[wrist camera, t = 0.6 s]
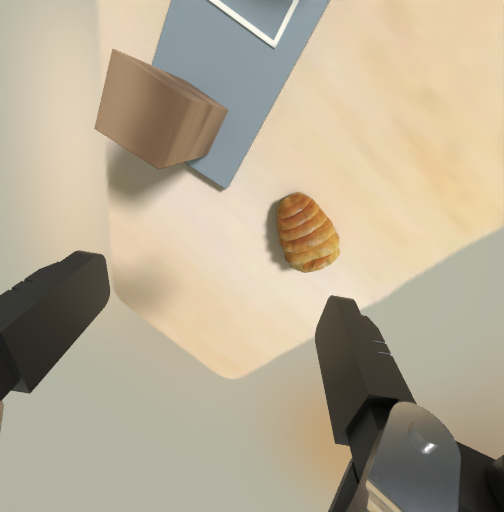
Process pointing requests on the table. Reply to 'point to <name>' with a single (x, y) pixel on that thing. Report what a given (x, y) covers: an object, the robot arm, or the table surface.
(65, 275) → the robot arm
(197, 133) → the built pillar
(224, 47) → the board
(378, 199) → the table surface
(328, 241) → the pastry
